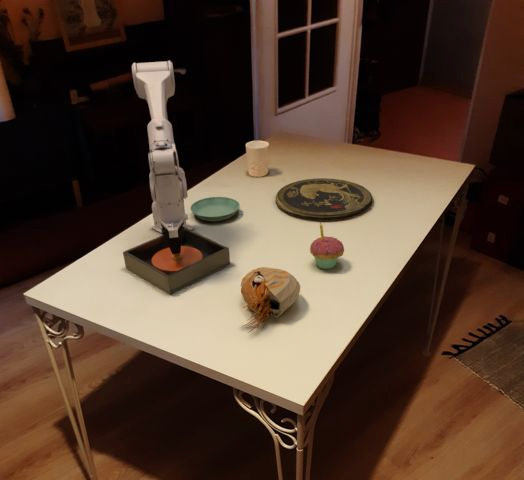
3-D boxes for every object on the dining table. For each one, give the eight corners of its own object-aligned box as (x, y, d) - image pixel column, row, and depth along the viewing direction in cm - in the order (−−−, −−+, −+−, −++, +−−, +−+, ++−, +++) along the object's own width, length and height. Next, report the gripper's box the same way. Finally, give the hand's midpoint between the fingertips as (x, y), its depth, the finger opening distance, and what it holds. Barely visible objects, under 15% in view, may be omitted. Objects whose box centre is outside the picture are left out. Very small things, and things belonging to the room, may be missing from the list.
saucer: (241, 204, 176) (241, 195, 174) (238, 224, 164) (238, 216, 162) (194, 204, 176) (193, 196, 175) (188, 225, 165) (187, 217, 163)
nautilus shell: (272, 346, 119) (212, 331, 125) (313, 291, 133) (257, 280, 139) (268, 316, 114) (206, 302, 120) (311, 262, 128) (253, 252, 134)
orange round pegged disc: (141, 261, 145) (137, 235, 140) (181, 244, 152) (178, 218, 147) (173, 279, 138) (169, 252, 133) (213, 260, 145) (210, 233, 140)
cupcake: (315, 274, 141) (317, 230, 133) (304, 259, 147) (305, 216, 140) (348, 269, 142) (351, 225, 135) (335, 254, 149) (338, 211, 141)
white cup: (243, 176, 194) (242, 147, 187) (250, 168, 199) (249, 139, 193) (265, 178, 192) (265, 149, 185) (272, 170, 197) (271, 141, 191)
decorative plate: (375, 216, 161) (271, 214, 164) (375, 222, 163) (271, 220, 165) (370, 178, 185) (279, 177, 188) (369, 183, 186) (279, 182, 189)
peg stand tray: (125, 268, 146) (122, 252, 143) (185, 242, 156) (183, 226, 153) (170, 294, 135) (167, 277, 132) (230, 264, 146) (229, 248, 143)
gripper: (188, 210, 129) (194, 262, 138) (183, 186, 141) (189, 236, 149) (157, 213, 129) (165, 266, 137) (155, 189, 140) (162, 239, 148)
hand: (176, 250), depth 143 cm, fingers closed on orange round pegged disc
